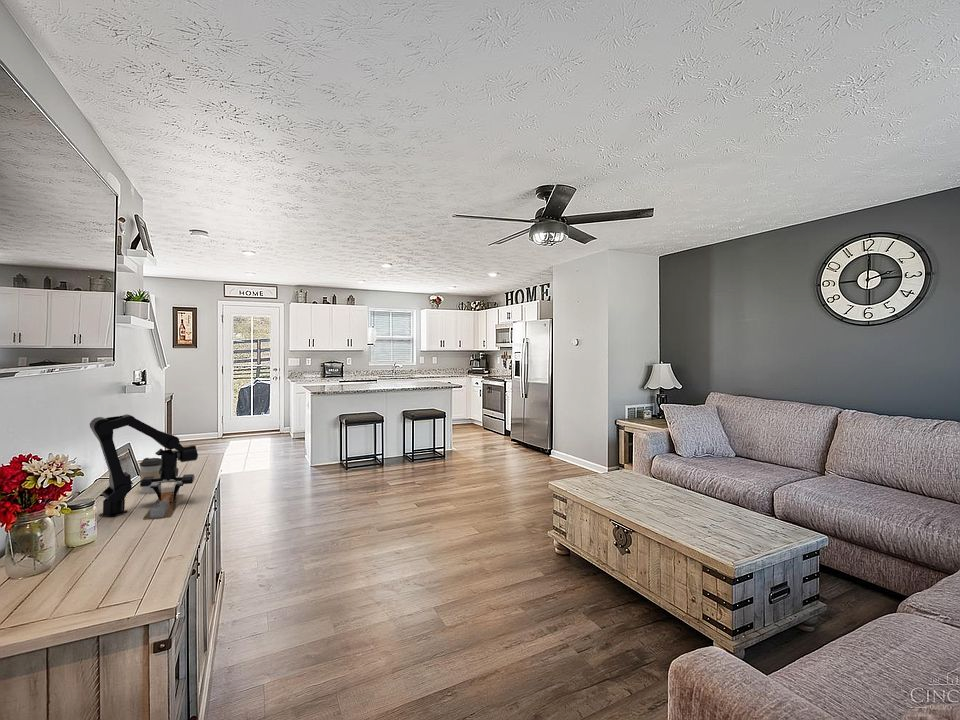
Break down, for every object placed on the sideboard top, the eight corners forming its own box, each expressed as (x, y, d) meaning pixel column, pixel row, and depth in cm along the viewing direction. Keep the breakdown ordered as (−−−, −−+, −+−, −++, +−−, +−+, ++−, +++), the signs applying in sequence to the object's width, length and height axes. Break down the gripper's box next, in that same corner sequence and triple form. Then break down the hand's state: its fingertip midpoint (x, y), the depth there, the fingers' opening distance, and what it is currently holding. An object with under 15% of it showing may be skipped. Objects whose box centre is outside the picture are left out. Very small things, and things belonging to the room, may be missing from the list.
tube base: (170, 517, 180) (171, 506, 180) (143, 519, 177) (143, 508, 177) (183, 495, 206) (184, 486, 206) (160, 496, 202) (160, 487, 202)
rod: (167, 509, 187) (168, 498, 186) (155, 509, 185) (156, 499, 185) (175, 496, 201) (175, 487, 201) (164, 497, 199) (165, 487, 199)
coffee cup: (167, 488, 213) (168, 457, 213) (151, 494, 204) (152, 461, 204) (149, 487, 214) (150, 455, 214) (133, 493, 205) (134, 460, 205)
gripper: (197, 458, 206) (195, 492, 206) (147, 460, 198) (146, 495, 199) (193, 464, 196) (191, 500, 196) (140, 467, 188) (139, 504, 188)
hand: (167, 499), depth 195 cm, fingers open, 5 cm apart
